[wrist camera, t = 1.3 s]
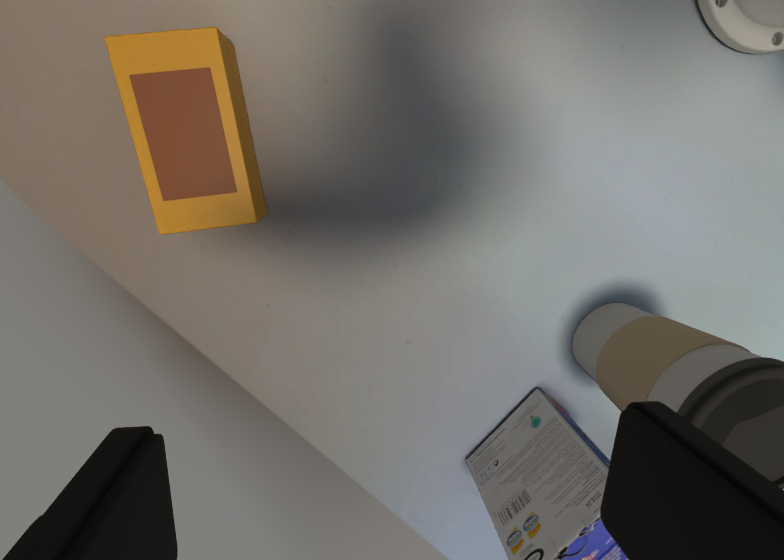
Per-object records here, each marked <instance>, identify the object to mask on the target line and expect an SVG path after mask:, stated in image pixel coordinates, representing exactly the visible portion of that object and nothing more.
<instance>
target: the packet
mask: <svg viewBox="0 0 784 560" xmlns="http://www.w3.org/2000/svg"><path fill="white" fill-rule="evenodd" d="M104 38H105V42H106V46H107V49H108V53H109V56H110V60H111V63H112V67H113V71H114V74H115V78H116V81H117V85H118V88H119V92H120V96H121V99H122V103H123V106H124V110H125V113H126V117H127V120H128V124H129V128H130V131H131V135H132V138H133V142H134V145H135V149H136V153H137V156H138V160H139V163H140V167H141V170H142V174H143V178H144V181H145V185H146V188H147V192H148V195H149V199H150V202H151V206H152V210H153V213H154V217H155V220H156V224H157V227H158V231H159V234H160V235H162V234H170V233H178V232H186V231H194V230H202V229H210V228H218V227H226V226H233V225H241V224H249V223H256V222H258V221H259V220H260V219H261V218H262V217H264V216H265V215H266V214H267V211H266V206H265V201H264V196H263V191H262V186H261V181H260V176H259V171H258V166H257V161H256V156H255V151H254V146H253V141H252V136H251V131H250V126H249V121H248V116H247V111H246V106H245V101H244V96H243V91H242V86H241V81H240V76H239V71H238V66H237V61H236V56H235V51H234V46H233V44H232V43H231V42H230V41H229V40H228V39H227V38H226V37H225V36H224V35H223V34H222V33H221V32H220V31H219V30H218V29H217V27H209V28H197V29H185V30H174V31H162V32H151V33H139V34H127V35H116V36H105V37H104Z"/></svg>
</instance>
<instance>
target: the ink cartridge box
mask: <svg viewBox="0 0 784 560" xmlns="http://www.w3.org/2000/svg"><path fill="white" fill-rule="evenodd" d="M466 462H467V465H468V467H469V469H470V471H471V474H472V476H473V478H474V481H475V483H476V485H477V487H478V490H479V492H480V494H481V497H482V499H483V501H484V503H485V506H486V508H487V510H488V513H489V515H490V517H491V519H492V521H493V524H494V526H495V528H496V531H497V533H498V535H499V538H500V540H501V542H502V545H503V547H504V549H505V552H506V554H507V556H508V559H509V560H629V559H628V558H627V556H626V555H625V554H624V552H623V551H622V550H621V548H620V547H619V546H618V544H617V543H616V542H615V541H614V539H613V538H612V537H611V535H610V534H609V533H608V531H607V530H606V528H605V527H604V525H603V522H602V519H601V515H600V508H601V503H602V499H603V494H604V489H605V484H606V480H607V475H608V470H609V466H610V460H609V459H608V458H607V457H606V456H605V455H604V454H603V453H602V452H601V451H600V450H599V448H598V447H597V446H596V445H595V444H594V443H593V442H592V441H591V440H590V439H589V437H588V436H587V435H586V434H585V433H584V432H583V431H582V430H581V428H580V427H579V426H578V425H577V424H576V423H575V422H574V420H573V419H572V418H571V417H570V415H569V414H568V413H567V412H566V411H565V410H564V409H563V408H562V407H561V406H559V405H558V404H557V403H556V402H555V401H554V400H553V399H552V398H550V397H549V396H548V395H547V394H546V393H545V392H543V391H542V390H541V389H536V390H535V391H534V392H533V393H532V394H531V395H530V396H529V397H528V398H527V399H526V400H525V401H524V402H523V403H522V404H521V405H520V406H519V407H518V408H517V409H516V410H515V411H514V412H513V413H512V414H511V416H510V417H509V418H508V419H507V420H506V421H505V422H504V423H503V424H502V425H501V426H500V427H499V428H498V429H497V430H496V431H495V432H494V433H493V434H492V435H491V436H490V437H489V438H488V439H487V440H486V441H485V442H484V443H483V444H482V445H481V446H480V447H479V448H478V449H477V450H476V451H475V452H474V453H473V454H472V455H471V456H470V457H469V458H468V459H467V460H466Z"/></svg>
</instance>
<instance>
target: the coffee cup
mask: <svg viewBox="0 0 784 560" xmlns="http://www.w3.org/2000/svg"><path fill="white" fill-rule="evenodd" d="M572 350H573V355H574V357H575V359H576V361H577V362H578V364H579V365H580V366H581V367H582V368H583V369H584V370H585V371H586V372H587V373H588V374H589V375H590V376H591V377H592V378H593V379H594V380H595V382H596V383H597V384H598V385H599V387H600V389H601V390H602V391H603V393H604V394H605V395H606V396H607V397H608V398H609V399H610V400H611V401H612V402H613V403H614V404H615V405H616V406H617V407H618V409H619V410H620V411H621V412H622V411H623V410H625V409H626V407H627V406H628V404H629V403H632V402H644V401H660V402H662V403H663V404H665V405H666V406H668V407H669V408H671V409H672V410H673V411H675V412H676V413H678V414H679V415H680V416H682V417H683V418H684V419H686V420H687V421H689V422H690V423H691V424H693V425H694V426H695V427H697V428H698V429H700V430H701V431H702V432H704V433H705V434H707V435H708V436H709V437H711V438H712V439H713V440H715V441H716V442H718V443H719V444H720V445H722V446H723V447H724V448H726V449H727V450H729V451H730V452H731V453H733V454H734V455H735V456H737V457H738V458H740V459H741V460H742V461H744V462H745V463H747V464H748V465H749V466H751V467H752V468H753V469H755V470H756V471H758V472H759V473H760V474H762V475H763V476H764V477H766V478H767V479H769V480H770V481H771V482H773V483H774V484H776V485H777V486H778V487H780V488H781V489H782V490H783V489H784V362H783V361H780V360H777V359H773V358H763V357H761V356H758V355H755V354H753V353H751V352H750V351H749V350H747V349H746V348H744V347H742V346H740V345H737V344H734V343H732V342H729V341H726V340H724V339H721V338H719V337H716V336H713V335H711V334H708V333H705V332H703V331H700V330H697V329H695V328H692V327H689V326H687V325H684V324H682V323H679V322H676V321H674V320H671V319H668V318H665V317H661V316H656V315H653V314H651V313H648V312H646V311H643V310H641V309H638V308H636V307H633V306H630V305H628V304H624V303H610V304H606V305H603V306H600V307H598V308H596V309H595V310H593V311H592V312H590V313H589V314H588V315H587V316H586V317H585V318H584V319H583V320H582V321H581V322H580V324H579V325H578V327H577V329H576V331H575V333H574V337H573V341H572Z"/></svg>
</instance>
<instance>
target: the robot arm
mask: <svg viewBox="0 0 784 560" xmlns="http://www.w3.org/2000/svg"><path fill="white" fill-rule="evenodd" d="M698 4H699V8H700V10H701V12H702V15H703V17H704V19H705V21H706V23H707V25H708V26H709V28H710V29H711V30H712V32H713V33H714V34H715V36H716V37H718V38H719V39H720V40H721V41H722V42H723V43H725V44H726V45H727V46H729V47H731V48H733V49H735V50H738V51H740V52H745V53H750V54H765V53H771V52H775V51H780V50H784V0H698ZM600 515H601V519H602V522H603V525H604V527H605V528H606V530H607V531H608V533H609V534H610V535H611V537H612V538H613V539H614V541H615V542H616V543H617V544H618V546H619V547H620V548H621V550H622V551H623V552H624V554H625V555H626V556H627V558H628V559H629V560H784V490H782V489H781V488H780V487H778V486H777V485H776V484H774V483H773V482H771V481H770V480H769V479H767V478H766V477H764V476H763V475H762V474H760V473H759V472H758V471H756V470H755V469H753V468H752V467H751V466H749V465H748V464H747V463H745V462H744V461H742V460H741V459H740V458H738V457H737V456H735V455H734V454H733V453H731V452H730V451H729V450H727V449H726V448H724V447H723V446H722V445H720V444H719V443H718V442H716V441H715V440H713V439H712V438H711V437H709V436H708V435H707V434H705V433H704V432H702V431H701V430H700V429H698V428H697V427H695V426H694V425H693V424H691V423H690V422H689V421H687V420H686V419H684V418H683V417H682V416H680V415H679V414H678V413H676V412H675V411H673V410H672V409H671V408H669V407H668V406H666V405H665V404H663V403H662V402H660V401H644V402H632V403H629V404H628V406H627V407H626V409H625V410H623V411H622V412H621V415H620V418H619V423H618V428H617V433H616V437H615V442H614V447H613V451H612V456H611V461H610V466H609V470H608V475H607V480H606V484H605V489H604V494H603V499H602V503H601V508H600ZM3 560H177V540H176V532H175V524H174V517H173V509H172V501H171V493H170V485H169V477H168V469H167V461H166V453H165V445H164V439H163V436H162V435H161V434H154V432H153V430H152V428H151V427H149V426H144V427H124V428H115V429H113V430H112V431H111V432H110V433H109V434H108V435H107V436H106V438H105V439H104V440H103V441H102V443H101V444H100V445H99V446H98V448H97V449H96V450H95V451H94V453H93V454H92V455H91V456H90V457H89V459H88V460H87V461H86V462H85V464H84V465H83V466H82V467H81V468H80V470H79V471H78V472H77V474H76V475H75V476H74V477H73V478H72V480H71V481H70V482H69V483H68V485H67V486H66V487H65V488H64V490H63V491H62V492H61V493H60V494H59V496H58V497H57V498H56V499H55V501H54V502H53V503H52V504H51V505H50V507H49V508H48V509H47V511H46V512H45V513H44V514H43V515H42V516H40V517H39V518H38V519H37V520H35V522H34V523H32V524H31V525H30V527H29V528H28V529H27V530H26V532H25V533H24V534H23V535H22V536H21V538H20V539H19V540H18V541H17V543H16V544H15V545H14V546H13V547H12V549H11V550H10V551H9V552H8V553H7V555H6V556H5V557H4V558H3Z"/></svg>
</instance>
